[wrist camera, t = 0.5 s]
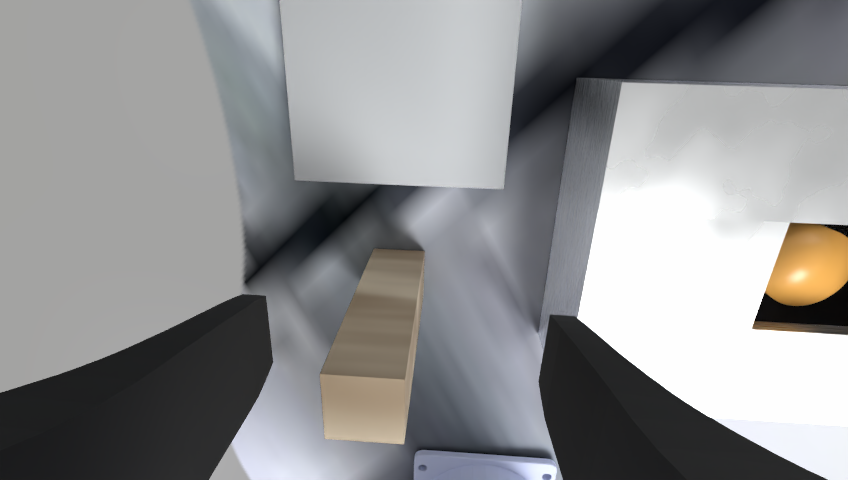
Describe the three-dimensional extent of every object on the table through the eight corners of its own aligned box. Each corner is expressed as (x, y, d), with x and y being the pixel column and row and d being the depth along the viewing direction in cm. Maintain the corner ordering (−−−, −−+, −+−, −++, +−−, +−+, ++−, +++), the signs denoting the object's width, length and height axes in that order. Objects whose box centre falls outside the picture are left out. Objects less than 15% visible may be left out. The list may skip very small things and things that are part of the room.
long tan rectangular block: (423, 295, 21) (403, 444, 13) (374, 293, 21) (324, 439, 13) (424, 251, 20) (404, 379, 12) (373, 248, 20) (319, 374, 12)
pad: (502, 185, 19) (503, 189, 18) (299, 177, 19) (294, 180, 19) (525, -58, 16) (528, -63, 15) (279, -63, 16) (273, -67, 15)
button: (796, 282, 18) (836, 308, 16) (720, 278, 18) (751, 303, 16) (824, 212, 17) (870, 231, 15) (742, 209, 17) (779, 227, 15)
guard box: (873, 353, 21) (993, 435, 16) (538, 334, 22) (561, 407, 17) (1005, 90, 16) (1222, 100, 12) (576, 77, 17) (622, 82, 13)
